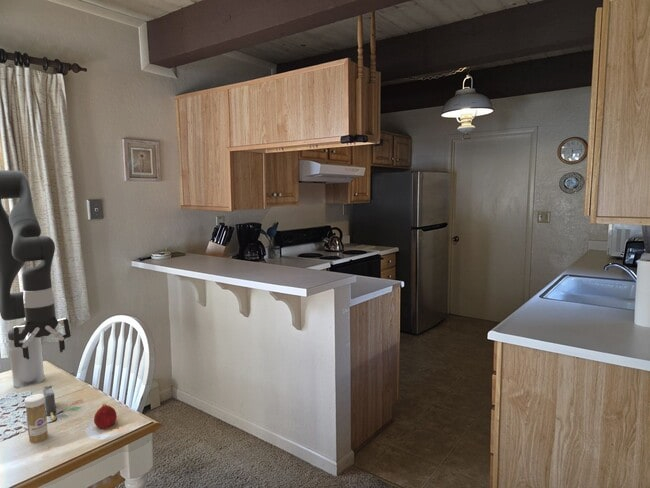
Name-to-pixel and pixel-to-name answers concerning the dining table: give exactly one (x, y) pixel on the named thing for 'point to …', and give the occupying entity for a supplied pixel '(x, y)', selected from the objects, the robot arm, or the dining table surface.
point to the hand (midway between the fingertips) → (44, 355)
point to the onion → (105, 417)
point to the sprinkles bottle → (36, 418)
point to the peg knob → (49, 401)
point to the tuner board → (69, 409)
